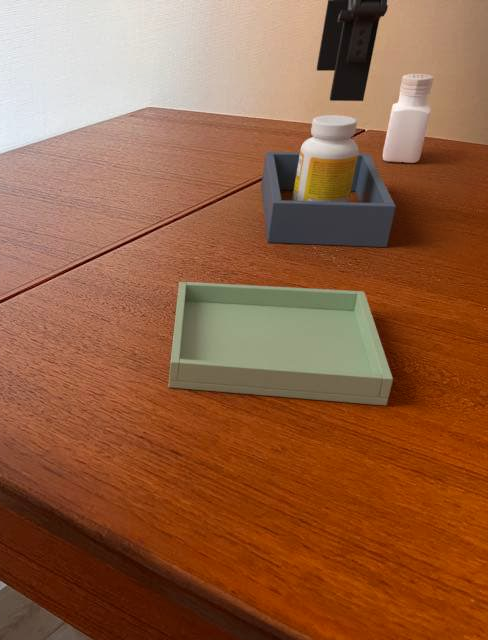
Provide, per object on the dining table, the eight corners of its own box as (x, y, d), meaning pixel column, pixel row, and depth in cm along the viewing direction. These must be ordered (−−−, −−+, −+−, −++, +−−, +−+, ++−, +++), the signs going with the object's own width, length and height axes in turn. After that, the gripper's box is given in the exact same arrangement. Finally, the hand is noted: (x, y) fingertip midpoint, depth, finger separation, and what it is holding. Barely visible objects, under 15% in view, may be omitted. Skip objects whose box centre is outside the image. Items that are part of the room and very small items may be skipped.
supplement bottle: (279, 211, 90) (293, 117, 85) (321, 203, 92) (337, 110, 87) (314, 226, 86) (331, 129, 81) (357, 217, 87) (377, 121, 82)
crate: (362, 189, 95) (369, 153, 93) (386, 247, 80) (396, 206, 78) (260, 187, 97) (265, 151, 95) (267, 242, 83) (273, 202, 81)
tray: (359, 315, 69) (364, 291, 68) (386, 406, 57) (393, 378, 56) (177, 304, 72) (179, 281, 71) (168, 387, 61) (170, 361, 60)
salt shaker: (418, 155, 104) (437, 73, 99) (418, 164, 101) (438, 80, 96) (382, 153, 106) (399, 72, 101) (381, 162, 103) (398, 79, 98)
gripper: (324, -176, 82) (288, 59, 93) (356, -188, 62) (306, 114, 73) (410, -181, 80) (363, 59, 91) (472, -196, 60) (402, 115, 71)
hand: (337, 84), depth 82 cm, fingers open, 13 cm apart
